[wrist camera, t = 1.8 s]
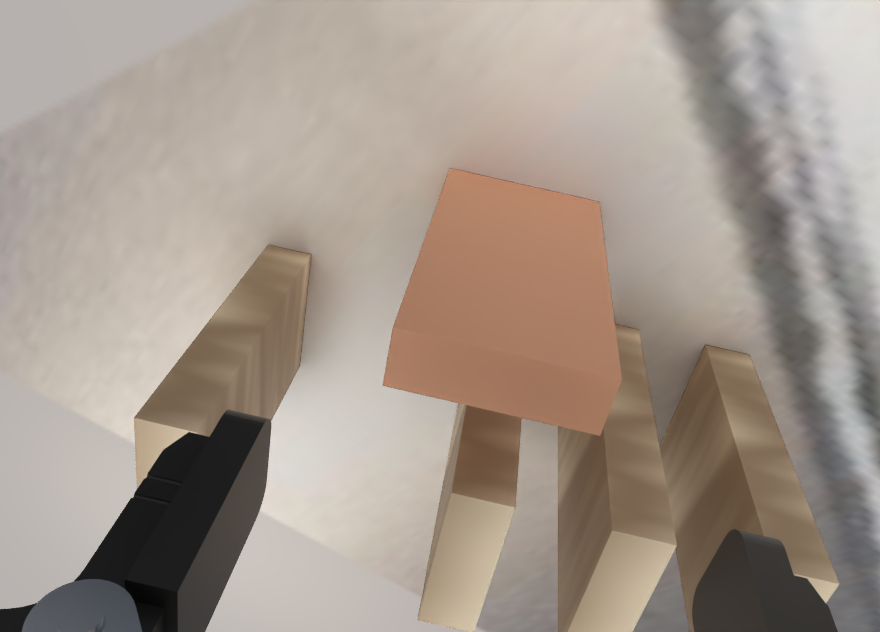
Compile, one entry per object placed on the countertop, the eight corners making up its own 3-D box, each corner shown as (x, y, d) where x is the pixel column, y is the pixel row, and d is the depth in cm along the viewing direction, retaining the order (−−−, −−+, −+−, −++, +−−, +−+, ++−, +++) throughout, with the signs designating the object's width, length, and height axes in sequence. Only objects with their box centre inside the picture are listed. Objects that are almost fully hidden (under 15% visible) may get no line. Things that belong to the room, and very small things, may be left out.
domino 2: (450, 168, 25) (393, 326, 16) (599, 201, 24) (622, 379, 16) (440, 212, 25) (382, 385, 17) (585, 245, 25) (599, 435, 17)
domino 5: (749, 354, 27) (839, 584, 18) (698, 458, 29) (756, 700, 21) (705, 344, 27) (774, 568, 18) (658, 448, 29) (699, 687, 21)
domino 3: (529, 304, 27) (515, 507, 18) (497, 411, 29) (473, 633, 21) (485, 294, 27) (451, 492, 18) (458, 402, 29) (417, 620, 21)
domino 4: (638, 329, 27) (677, 545, 18) (597, 435, 29) (614, 666, 21) (594, 319, 27) (612, 530, 18) (557, 425, 29) (557, 653, 21)
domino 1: (311, 254, 27) (196, 432, 18) (299, 365, 30) (195, 566, 21) (268, 244, 27) (133, 417, 18) (260, 356, 30) (139, 553, 21)
